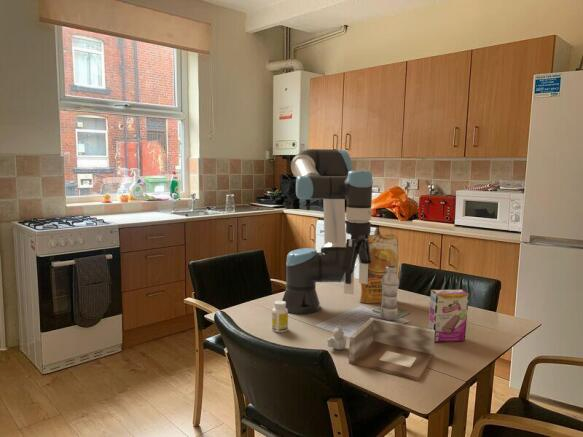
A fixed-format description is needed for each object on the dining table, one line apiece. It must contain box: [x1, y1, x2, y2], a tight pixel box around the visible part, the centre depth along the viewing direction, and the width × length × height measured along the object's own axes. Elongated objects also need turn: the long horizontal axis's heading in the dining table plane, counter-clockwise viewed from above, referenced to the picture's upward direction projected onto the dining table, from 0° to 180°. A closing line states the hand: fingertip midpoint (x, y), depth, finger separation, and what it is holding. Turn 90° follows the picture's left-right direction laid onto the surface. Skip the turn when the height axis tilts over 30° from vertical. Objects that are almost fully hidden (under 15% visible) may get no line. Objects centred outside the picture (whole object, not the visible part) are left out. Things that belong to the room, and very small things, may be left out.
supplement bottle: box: [271, 300, 289, 333], centre depth 149 cm, size 5×5×10 cm
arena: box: [348, 317, 435, 382], centre depth 128 cm, size 20×18×8 cm
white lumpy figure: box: [326, 324, 347, 351], centre depth 135 cm, size 5×7×8 cm
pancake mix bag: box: [358, 234, 399, 304], centre depth 182 cm, size 7×19×28 cm, turn 103°
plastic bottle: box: [379, 266, 400, 322], centre depth 160 cm, size 6×7×20 cm
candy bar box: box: [427, 289, 470, 343], centre depth 143 cm, size 11×5×16 cm, turn 97°
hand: (356, 288), depth 136 cm, fingers open, 13 cm apart
